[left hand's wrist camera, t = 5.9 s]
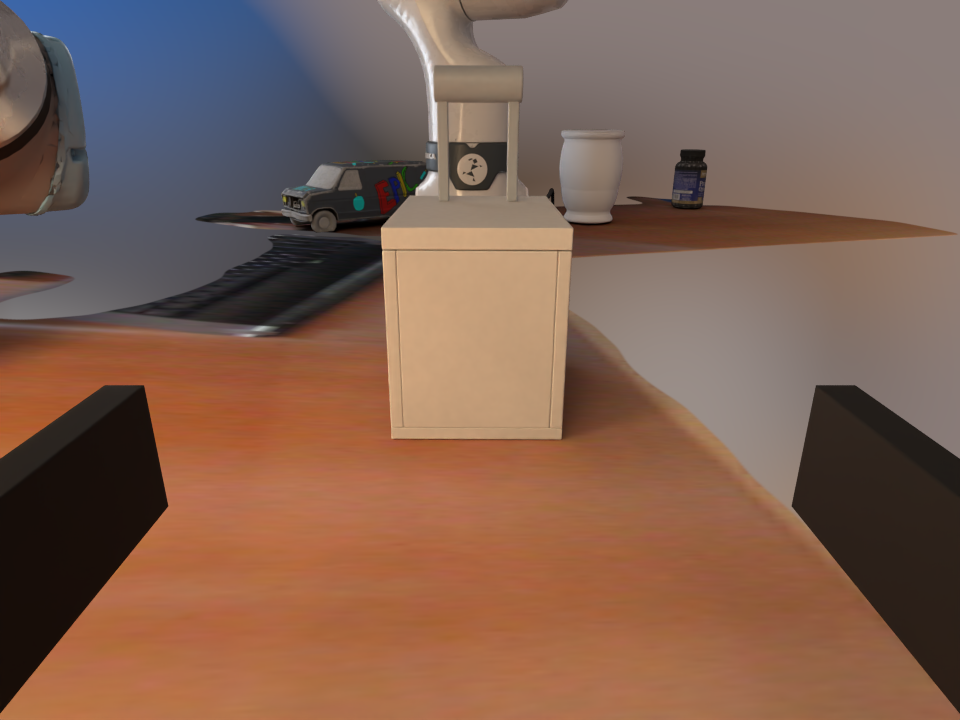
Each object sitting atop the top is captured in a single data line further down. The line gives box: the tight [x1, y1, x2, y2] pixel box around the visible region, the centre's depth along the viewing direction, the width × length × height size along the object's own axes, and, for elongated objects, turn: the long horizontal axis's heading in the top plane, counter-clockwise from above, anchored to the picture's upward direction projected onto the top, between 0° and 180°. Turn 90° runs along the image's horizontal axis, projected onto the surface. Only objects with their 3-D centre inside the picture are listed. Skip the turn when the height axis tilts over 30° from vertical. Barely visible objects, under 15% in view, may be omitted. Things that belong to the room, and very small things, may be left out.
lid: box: [381, 65, 573, 250], centre depth 37 cm, size 14×10×9 cm
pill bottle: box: [671, 150, 707, 208], centre depth 128 cm, size 6×6×11 cm
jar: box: [560, 129, 625, 224], centre depth 109 cm, size 11×10×15 cm
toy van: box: [282, 160, 429, 232], centre depth 107 cm, size 11×25×10 cm, turn 127°
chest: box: [382, 250, 572, 439], centre depth 41 cm, size 13×10×11 cm
